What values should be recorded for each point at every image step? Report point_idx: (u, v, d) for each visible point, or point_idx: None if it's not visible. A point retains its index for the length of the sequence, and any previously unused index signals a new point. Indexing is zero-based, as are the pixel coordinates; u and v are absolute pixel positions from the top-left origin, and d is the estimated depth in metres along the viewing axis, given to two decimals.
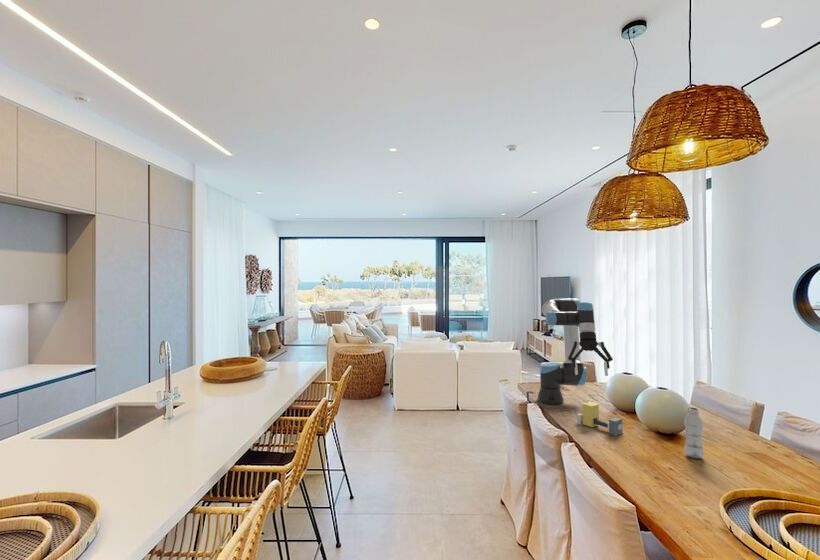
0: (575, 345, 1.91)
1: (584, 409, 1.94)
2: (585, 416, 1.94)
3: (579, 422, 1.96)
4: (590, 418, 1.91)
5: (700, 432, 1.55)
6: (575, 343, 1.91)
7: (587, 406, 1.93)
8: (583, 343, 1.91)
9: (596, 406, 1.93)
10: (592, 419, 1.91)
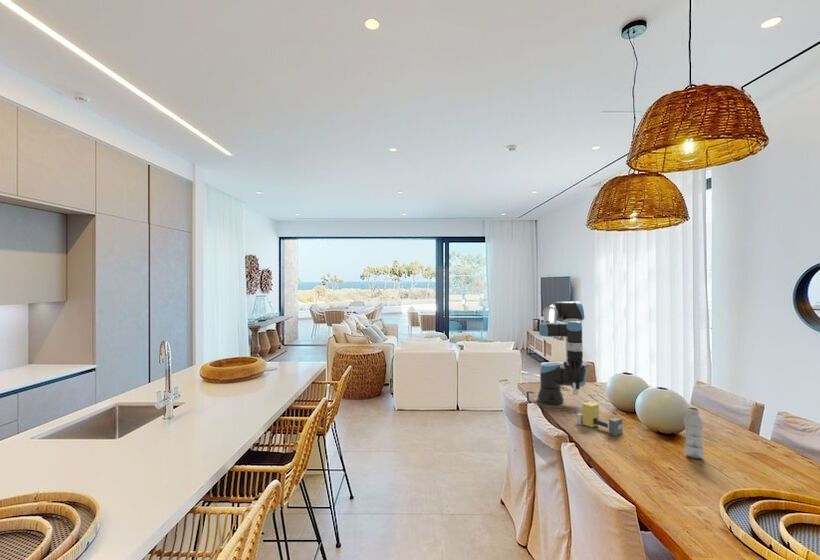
0: (565, 365, 2.06)
1: (584, 409, 1.94)
2: (585, 416, 1.94)
3: (579, 422, 1.96)
4: (590, 418, 1.91)
5: (700, 432, 1.55)
6: (564, 364, 2.06)
7: (587, 406, 1.93)
8: (569, 360, 2.04)
9: (596, 406, 1.93)
10: (592, 419, 1.91)
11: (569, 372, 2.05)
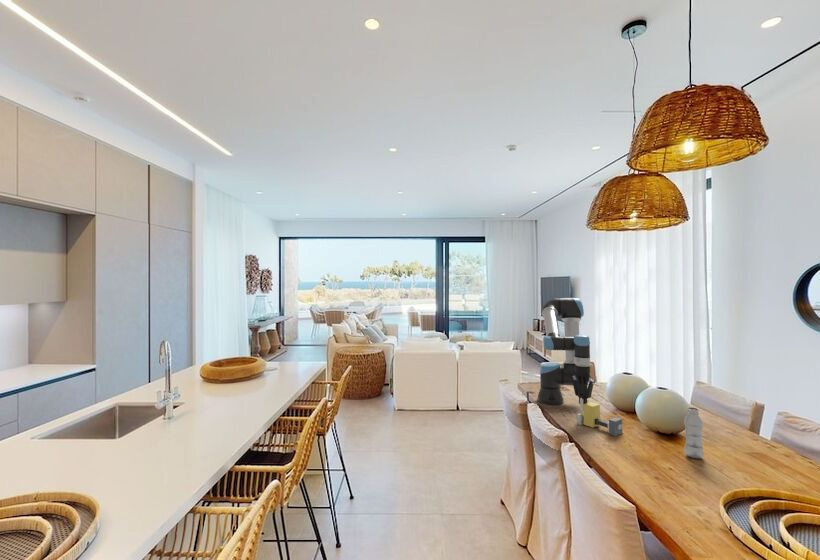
0: (573, 380, 2.02)
1: (585, 409, 1.94)
2: (586, 416, 1.93)
3: (579, 422, 1.96)
4: (591, 418, 1.91)
5: (700, 432, 1.55)
6: (572, 378, 2.02)
7: (588, 406, 1.92)
8: (576, 375, 2.00)
9: (597, 406, 1.93)
10: (593, 419, 1.91)
11: (576, 387, 2.01)
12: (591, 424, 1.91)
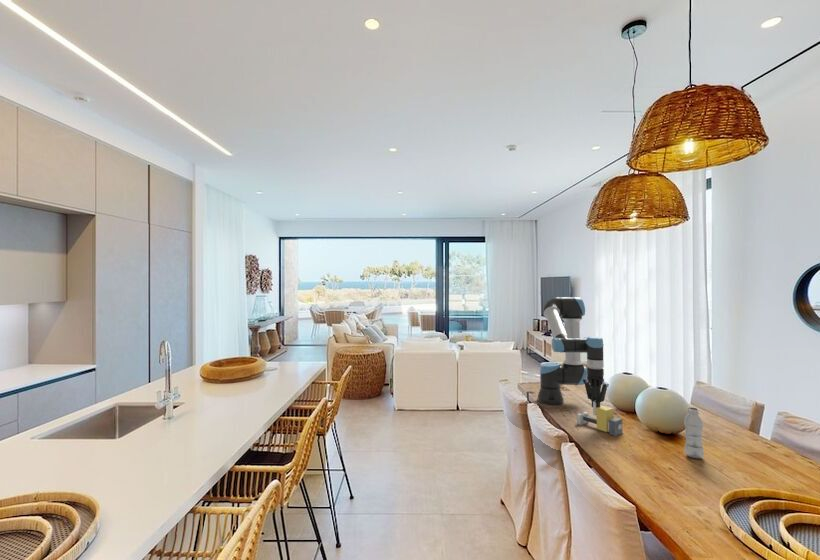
0: (585, 383, 1.96)
1: (598, 413, 1.88)
2: (599, 420, 1.87)
3: (579, 422, 1.96)
4: (604, 423, 1.85)
5: (700, 432, 1.55)
6: (584, 381, 1.96)
7: (601, 410, 1.86)
8: (589, 377, 1.94)
9: (611, 410, 1.86)
10: (606, 423, 1.85)
11: (589, 390, 1.95)
12: (605, 428, 1.85)
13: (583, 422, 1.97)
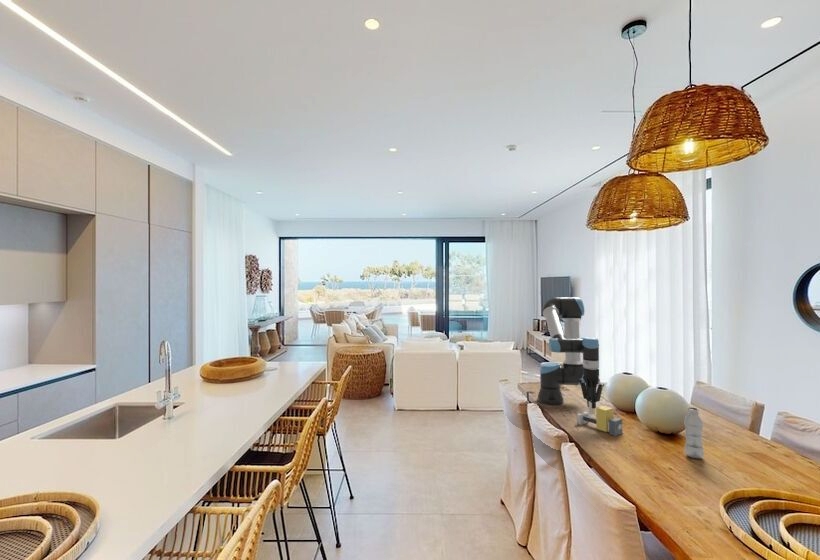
0: (581, 383, 1.98)
1: (598, 413, 1.88)
2: (599, 420, 1.87)
3: (579, 422, 1.96)
4: (604, 423, 1.85)
5: (700, 432, 1.55)
6: (580, 381, 1.98)
7: (601, 410, 1.86)
8: (585, 378, 1.96)
9: (610, 410, 1.87)
10: (606, 423, 1.85)
11: (585, 390, 1.97)
12: (604, 428, 1.85)
13: (583, 422, 1.97)
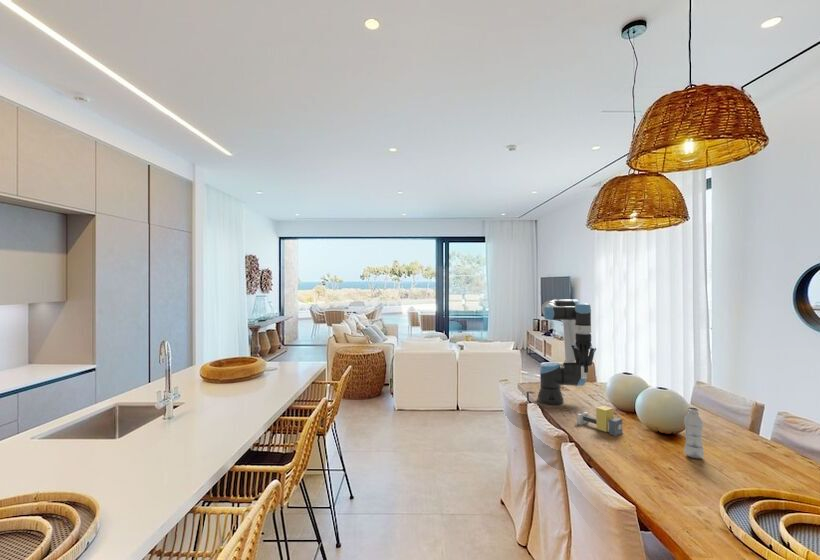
0: (573, 349, 2.02)
1: (598, 413, 1.88)
2: (599, 420, 1.87)
3: (579, 422, 1.96)
4: (604, 423, 1.85)
5: (700, 432, 1.55)
6: (572, 347, 2.02)
7: (601, 410, 1.86)
8: (577, 343, 2.00)
9: (610, 410, 1.87)
10: (606, 423, 1.85)
11: (577, 355, 2.01)
12: (604, 428, 1.85)
13: (583, 422, 1.97)
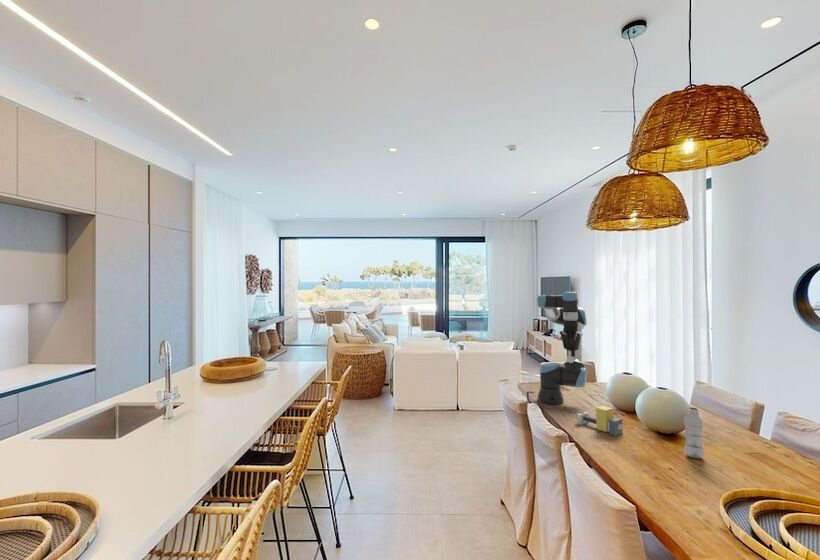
0: (561, 335, 2.14)
1: (598, 413, 1.88)
2: (599, 420, 1.87)
3: (579, 422, 1.96)
4: (604, 423, 1.85)
5: (700, 432, 1.55)
6: (560, 333, 2.14)
7: (601, 410, 1.86)
8: (565, 329, 2.12)
9: (610, 410, 1.87)
10: (606, 423, 1.85)
11: (565, 341, 2.13)
12: (604, 428, 1.85)
13: (583, 422, 1.97)
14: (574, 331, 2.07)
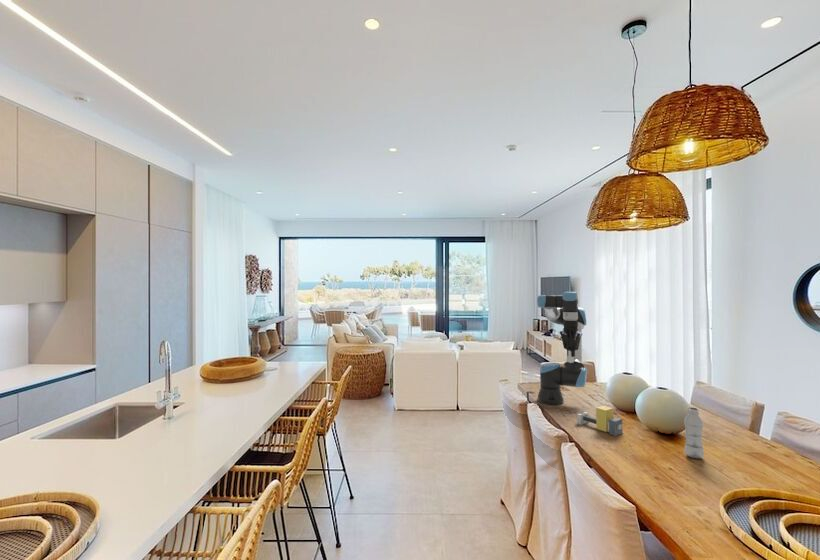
0: (561, 335, 2.14)
1: (598, 413, 1.88)
2: (599, 420, 1.87)
3: (579, 422, 1.96)
4: (604, 423, 1.85)
5: (700, 432, 1.55)
6: (560, 333, 2.14)
7: (601, 410, 1.86)
8: (565, 329, 2.12)
9: (610, 410, 1.87)
10: (606, 423, 1.85)
11: (565, 341, 2.13)
12: (604, 428, 1.85)
13: (583, 422, 1.97)
14: (574, 331, 2.07)
